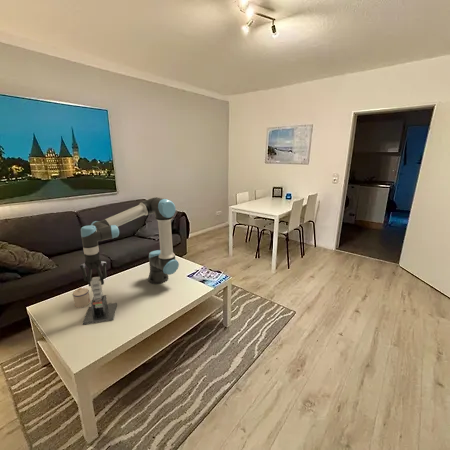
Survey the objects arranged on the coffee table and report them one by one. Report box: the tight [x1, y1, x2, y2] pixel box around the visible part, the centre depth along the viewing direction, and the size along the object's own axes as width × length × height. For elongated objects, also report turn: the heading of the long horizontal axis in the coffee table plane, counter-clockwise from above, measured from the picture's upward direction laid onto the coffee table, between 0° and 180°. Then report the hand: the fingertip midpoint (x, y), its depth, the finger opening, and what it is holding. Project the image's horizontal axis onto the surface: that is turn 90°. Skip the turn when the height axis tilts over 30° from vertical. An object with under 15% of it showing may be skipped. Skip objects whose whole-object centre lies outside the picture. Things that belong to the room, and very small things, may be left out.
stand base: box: [82, 294, 118, 326], centre depth 149 cm, size 16×16×10 cm
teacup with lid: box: [72, 287, 91, 309], centre depth 159 cm, size 12×9×12 cm
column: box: [91, 276, 103, 308], centre depth 146 cm, size 5×4×18 cm
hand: (97, 290), depth 146 cm, fingers closed on column, 4 cm apart
